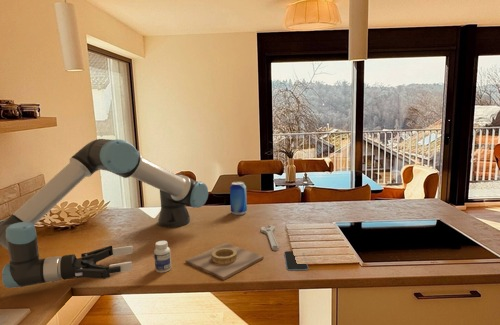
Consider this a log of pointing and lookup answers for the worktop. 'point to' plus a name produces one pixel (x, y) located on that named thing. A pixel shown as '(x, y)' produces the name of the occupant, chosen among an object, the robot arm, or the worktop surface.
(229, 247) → the socket plate
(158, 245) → the pill bottle
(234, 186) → the beer can
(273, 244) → the adjustable wrench
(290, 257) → the smartphone
